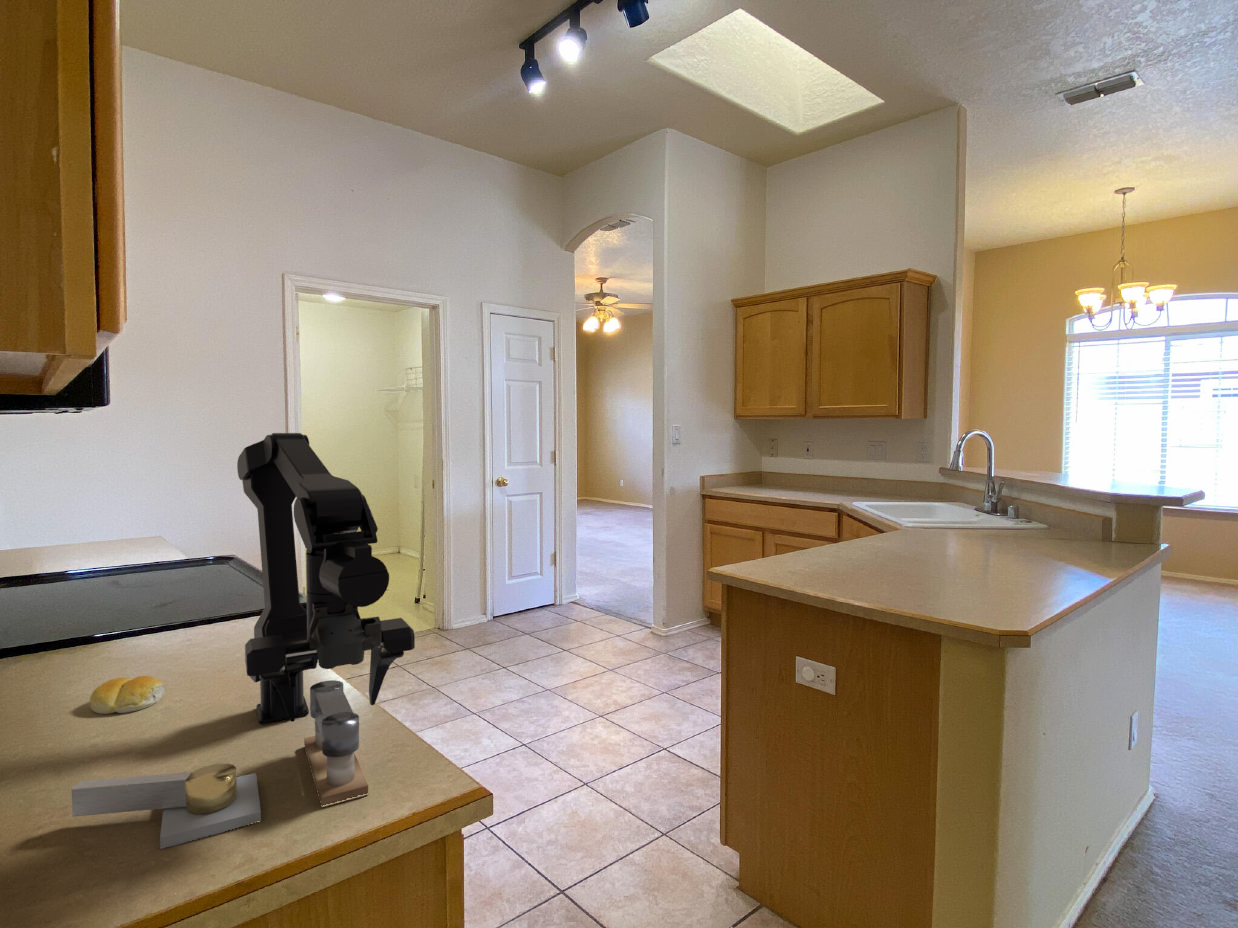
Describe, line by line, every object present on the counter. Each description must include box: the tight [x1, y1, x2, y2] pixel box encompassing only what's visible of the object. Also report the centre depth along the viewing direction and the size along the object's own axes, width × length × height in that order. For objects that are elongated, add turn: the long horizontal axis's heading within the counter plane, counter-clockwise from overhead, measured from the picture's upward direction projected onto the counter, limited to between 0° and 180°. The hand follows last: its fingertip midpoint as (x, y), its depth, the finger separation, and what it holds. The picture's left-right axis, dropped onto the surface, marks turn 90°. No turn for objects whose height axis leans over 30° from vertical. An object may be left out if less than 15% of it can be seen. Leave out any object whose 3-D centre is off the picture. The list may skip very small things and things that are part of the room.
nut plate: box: [159, 772, 262, 850], centre depth 73 cm, size 9×9×1 cm
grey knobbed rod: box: [309, 679, 360, 757], centre depth 82 cm, size 15×4×4 cm, turn 32°
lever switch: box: [70, 762, 238, 818], centre depth 72 cm, size 15×5×3 cm, turn 102°
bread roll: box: [89, 675, 166, 715], centre depth 100 cm, size 8×9×4 cm
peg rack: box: [303, 719, 369, 806], centre depth 82 cm, size 16×5×5 cm, turn 32°
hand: (333, 711), depth 82 cm, fingers open, 9 cm apart
